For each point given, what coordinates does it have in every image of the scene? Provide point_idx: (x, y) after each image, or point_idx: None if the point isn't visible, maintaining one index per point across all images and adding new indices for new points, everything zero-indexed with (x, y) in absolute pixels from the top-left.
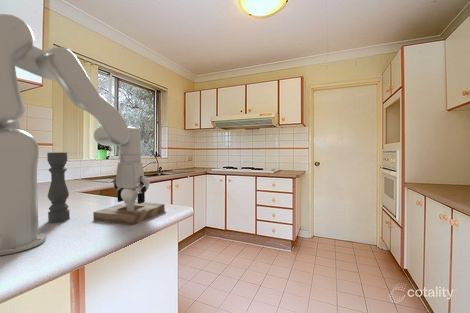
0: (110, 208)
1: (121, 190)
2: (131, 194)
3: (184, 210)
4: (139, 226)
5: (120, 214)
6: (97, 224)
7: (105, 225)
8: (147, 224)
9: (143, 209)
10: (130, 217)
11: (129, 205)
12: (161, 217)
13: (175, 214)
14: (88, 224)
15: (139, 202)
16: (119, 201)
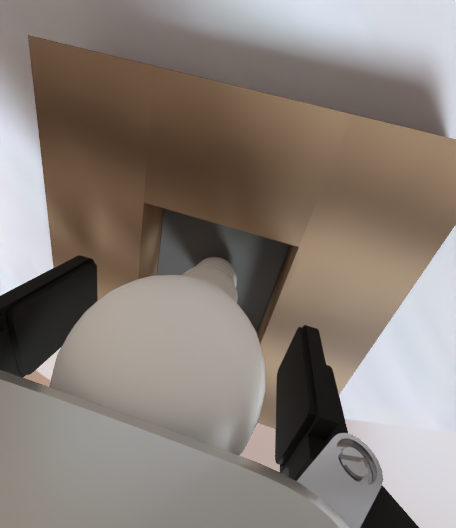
0: (366, 275)
1: (300, 461)
2: (87, 312)
3: None
4: (27, 40)
5: (166, 87)
6: (355, 33)
7: (271, 17)
8: (14, 92)
9: (94, 247)
10: (56, 43)
11: (188, 272)
12: (37, 230)
13: (12, 278)
14: (445, 17)
15: (75, 263)
16: (299, 327)
